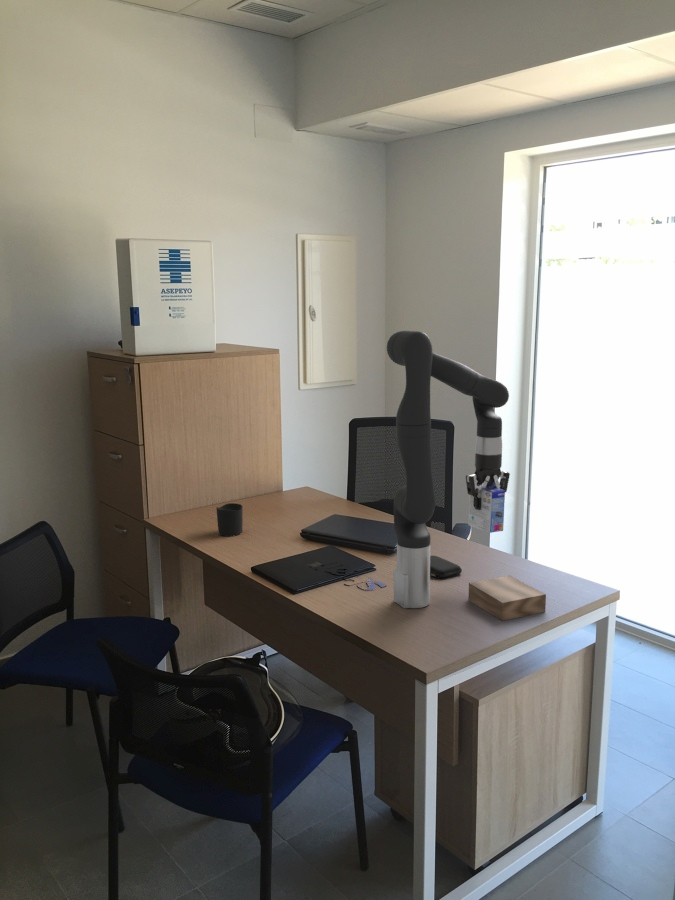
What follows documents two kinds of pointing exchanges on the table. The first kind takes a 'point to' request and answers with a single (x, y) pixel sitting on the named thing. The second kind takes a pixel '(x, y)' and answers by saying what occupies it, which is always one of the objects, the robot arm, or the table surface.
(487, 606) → the wooden block
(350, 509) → the table surface
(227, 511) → the pen holder
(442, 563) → the carrying case or bag
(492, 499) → the ink cartridge box
